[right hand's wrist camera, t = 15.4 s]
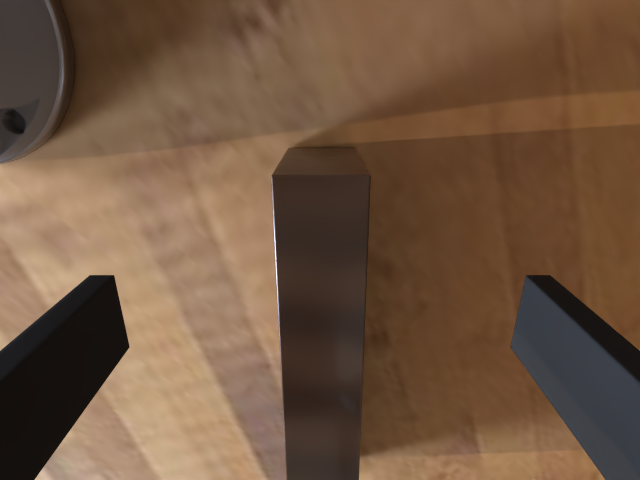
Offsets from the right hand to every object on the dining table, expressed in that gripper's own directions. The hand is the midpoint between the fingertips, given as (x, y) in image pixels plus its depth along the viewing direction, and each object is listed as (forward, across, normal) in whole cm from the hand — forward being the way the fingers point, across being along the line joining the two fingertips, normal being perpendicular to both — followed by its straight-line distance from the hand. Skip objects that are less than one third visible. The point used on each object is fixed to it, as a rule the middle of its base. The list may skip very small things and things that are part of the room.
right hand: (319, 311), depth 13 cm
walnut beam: (+15, 0, -11) cm, 19 cm away
